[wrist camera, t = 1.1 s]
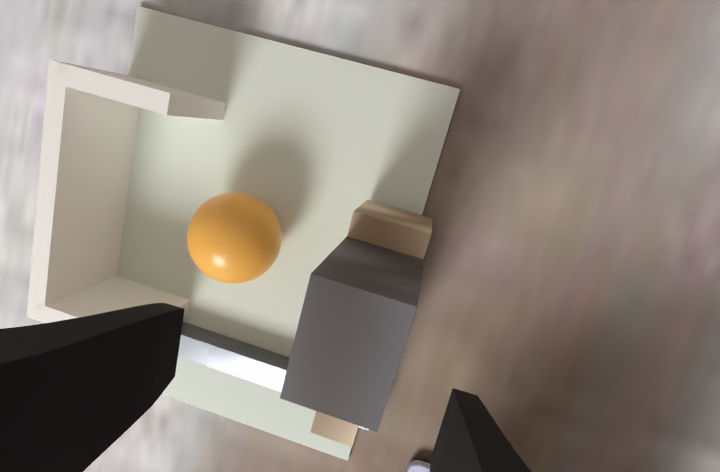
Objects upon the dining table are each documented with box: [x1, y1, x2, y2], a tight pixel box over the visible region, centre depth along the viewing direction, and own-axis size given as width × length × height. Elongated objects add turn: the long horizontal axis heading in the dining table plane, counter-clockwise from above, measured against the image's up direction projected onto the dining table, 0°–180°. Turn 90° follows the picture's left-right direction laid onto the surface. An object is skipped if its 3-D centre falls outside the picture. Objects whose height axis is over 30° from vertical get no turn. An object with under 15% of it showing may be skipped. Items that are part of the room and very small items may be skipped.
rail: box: [178, 322, 368, 430], centre depth 23 cm, size 12×2×2 cm, turn 75°
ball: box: [187, 192, 282, 284], centre depth 20 cm, size 4×4×4 cm
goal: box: [27, 60, 226, 323], centre depth 20 cm, size 5×11×4 cm, turn 165°
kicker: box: [280, 200, 433, 447], centre depth 17 cm, size 3×11×8 cm, turn 165°
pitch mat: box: [117, 6, 460, 461], centre depth 22 cm, size 15×19×1 cm
